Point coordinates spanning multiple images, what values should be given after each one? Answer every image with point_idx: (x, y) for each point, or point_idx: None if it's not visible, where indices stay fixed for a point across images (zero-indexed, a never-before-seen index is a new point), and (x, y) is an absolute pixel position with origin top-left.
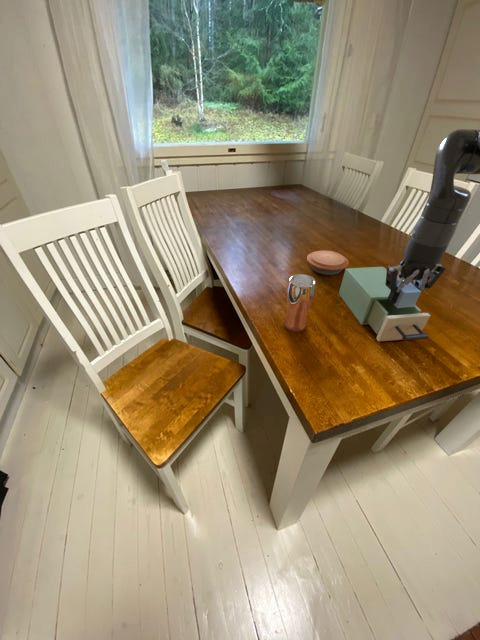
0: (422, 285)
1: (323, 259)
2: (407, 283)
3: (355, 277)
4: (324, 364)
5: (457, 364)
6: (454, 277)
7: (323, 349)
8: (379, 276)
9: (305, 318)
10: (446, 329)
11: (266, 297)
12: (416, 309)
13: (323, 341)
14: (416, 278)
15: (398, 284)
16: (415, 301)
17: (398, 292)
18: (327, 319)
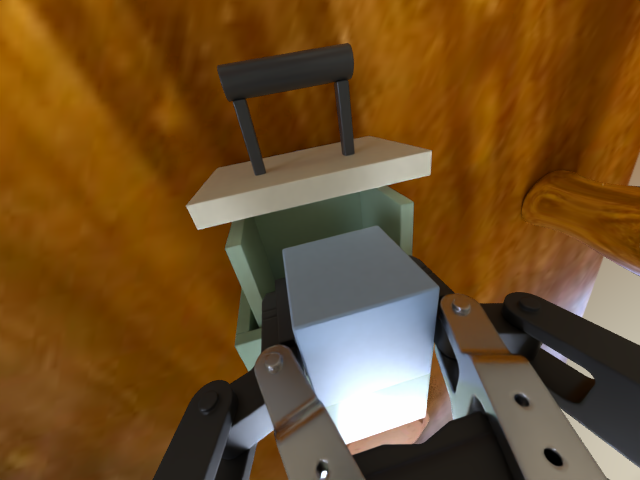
0: (289, 396)
1: (402, 432)
2: (496, 373)
3: (423, 386)
4: (573, 10)
5: (60, 9)
6: (21, 475)
7: (534, 93)
8: (335, 413)
9: (570, 199)
10: (83, 242)
11: (546, 289)
12: (245, 255)
13: (514, 134)
14: (419, 468)
15: (410, 369)
16: (292, 269)
17: (446, 295)
18: (455, 233)
